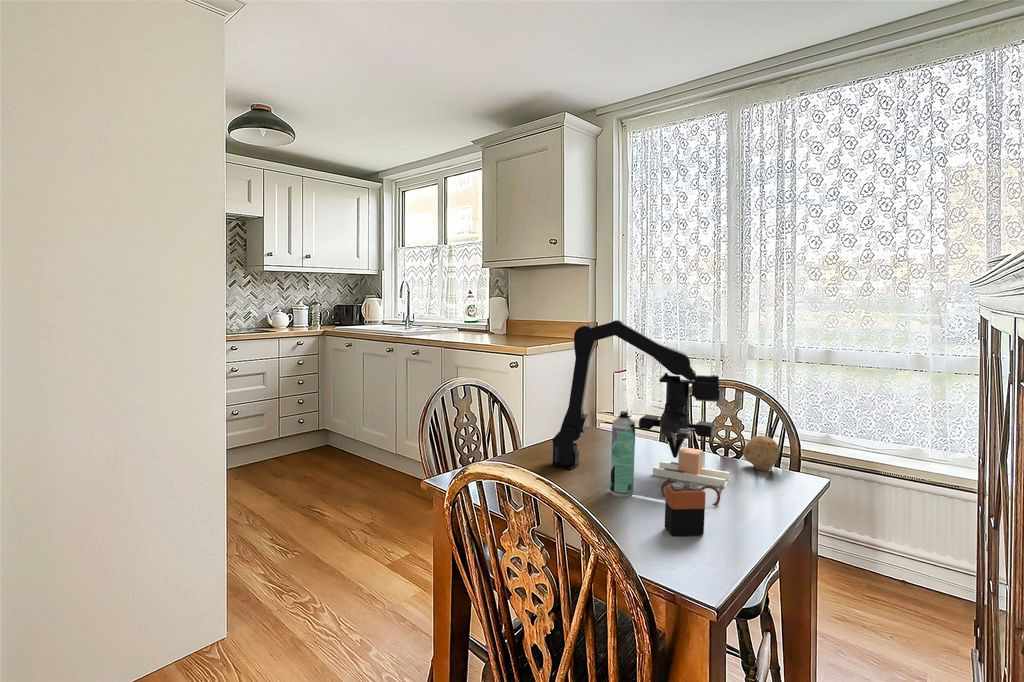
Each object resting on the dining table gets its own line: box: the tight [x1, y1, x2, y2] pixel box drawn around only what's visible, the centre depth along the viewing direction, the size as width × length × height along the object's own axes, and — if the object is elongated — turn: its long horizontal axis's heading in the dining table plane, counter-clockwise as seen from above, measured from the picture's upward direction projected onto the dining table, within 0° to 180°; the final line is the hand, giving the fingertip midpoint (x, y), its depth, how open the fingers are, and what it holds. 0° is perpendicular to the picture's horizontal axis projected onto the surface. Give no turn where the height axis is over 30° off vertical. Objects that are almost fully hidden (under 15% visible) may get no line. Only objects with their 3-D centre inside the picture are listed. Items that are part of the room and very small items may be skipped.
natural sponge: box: [742, 434, 780, 472], centre depth 151 cm, size 9×9×10 cm
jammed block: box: [677, 447, 704, 475], centre depth 144 cm, size 5×5×7 cm
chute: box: [652, 460, 731, 489], centre depth 144 cm, size 18×7×3 cm, turn 60°
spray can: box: [609, 410, 636, 498], centre depth 132 cm, size 6×6×20 cm
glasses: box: [660, 478, 723, 506], centre depth 133 cm, size 13×13×5 cm
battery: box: [664, 482, 706, 537], centre depth 111 cm, size 4×7×10 cm, turn 95°
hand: (675, 457), depth 146 cm, fingers closed
